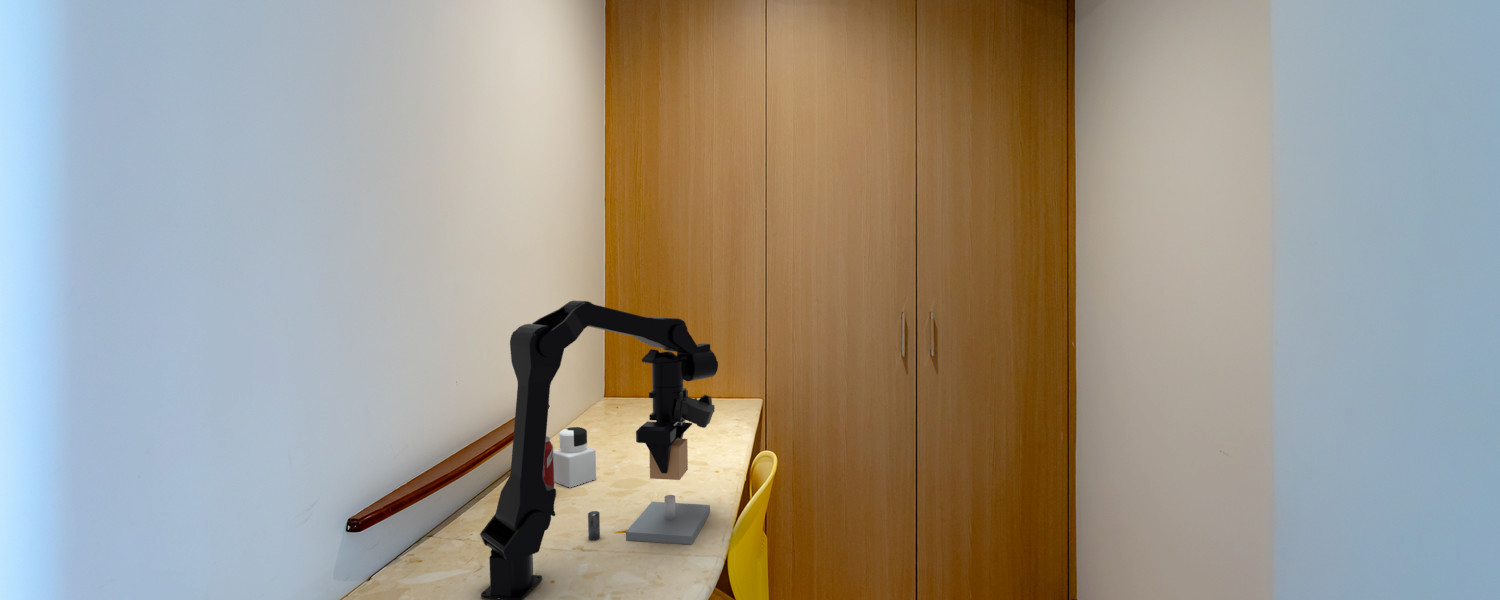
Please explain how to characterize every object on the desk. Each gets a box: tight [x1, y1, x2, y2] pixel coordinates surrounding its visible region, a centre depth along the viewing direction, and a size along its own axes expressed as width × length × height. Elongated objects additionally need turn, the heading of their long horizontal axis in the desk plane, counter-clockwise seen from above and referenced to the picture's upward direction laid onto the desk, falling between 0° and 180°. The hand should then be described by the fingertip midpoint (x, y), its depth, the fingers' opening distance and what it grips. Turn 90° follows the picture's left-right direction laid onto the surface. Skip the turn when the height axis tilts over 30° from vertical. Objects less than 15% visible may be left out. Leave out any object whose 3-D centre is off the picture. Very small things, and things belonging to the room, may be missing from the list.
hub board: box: [625, 494, 711, 546], centre depth 111 cm, size 14×12×6 cm
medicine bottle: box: [553, 426, 597, 489], centre depth 135 cm, size 7×7×12 cm
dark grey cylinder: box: [587, 510, 601, 541], centre depth 106 cm, size 2×2×4 cm
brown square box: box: [648, 438, 689, 481], centre depth 111 cm, size 6×6×6 cm
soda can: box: [543, 435, 555, 488], centre depth 127 cm, size 7×7×12 cm
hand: (669, 467), depth 111 cm, fingers closed on brown square box, 6 cm apart
